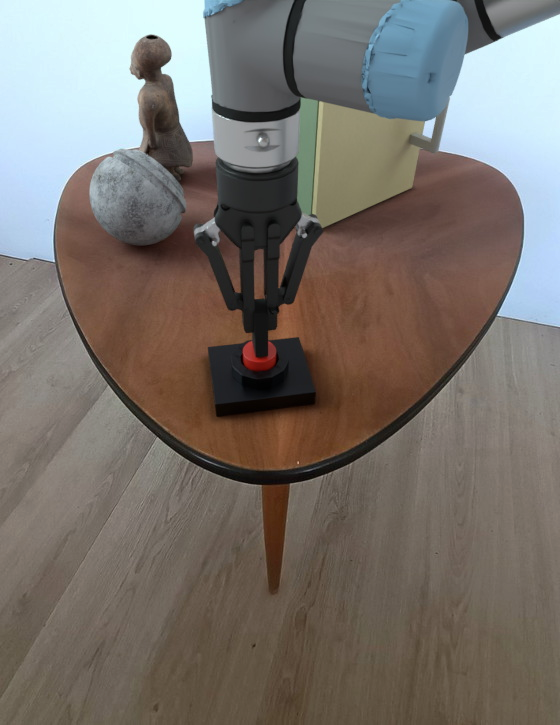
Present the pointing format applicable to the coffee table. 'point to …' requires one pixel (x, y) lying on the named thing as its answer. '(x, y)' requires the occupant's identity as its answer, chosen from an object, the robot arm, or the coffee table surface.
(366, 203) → the door
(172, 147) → the clay figurine
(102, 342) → the coffee table surface
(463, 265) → the coffee table surface
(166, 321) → the coffee table surface
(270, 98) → the robot arm
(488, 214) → the coffee table surface
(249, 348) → the button
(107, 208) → the decorative orb
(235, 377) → the button block
